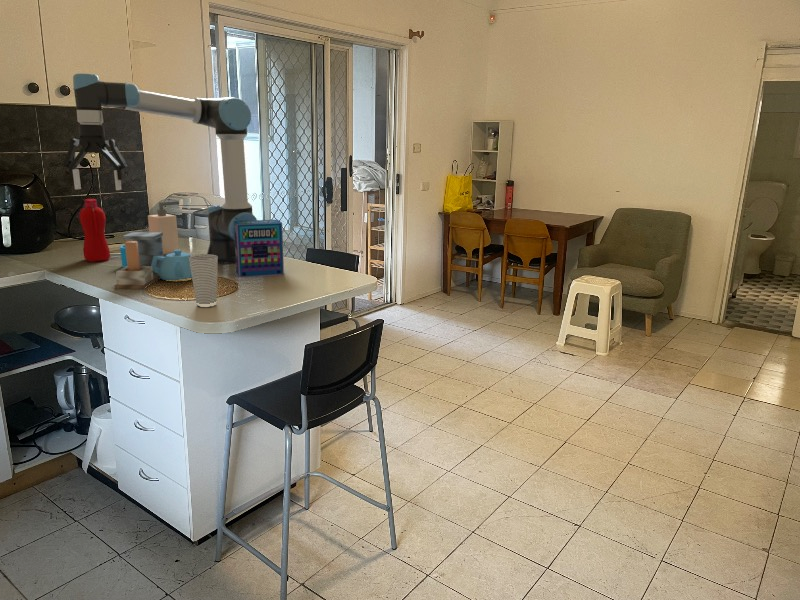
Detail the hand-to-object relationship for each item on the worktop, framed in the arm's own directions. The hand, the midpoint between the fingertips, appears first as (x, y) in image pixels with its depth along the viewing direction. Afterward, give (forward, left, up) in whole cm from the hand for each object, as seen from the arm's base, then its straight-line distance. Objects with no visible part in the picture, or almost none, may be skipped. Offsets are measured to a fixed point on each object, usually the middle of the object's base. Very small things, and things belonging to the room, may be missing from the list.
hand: (98, 189), depth 201 cm
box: (-49, -18, -33) cm, 62 cm away
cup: (-41, +25, -33) cm, 59 cm away
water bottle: (+21, -38, -33) cm, 54 cm away
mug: (+1, -29, -33) cm, 44 cm away
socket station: (-10, -3, -33) cm, 34 cm away
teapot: (-22, -9, -33) cm, 41 cm away
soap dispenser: (-1, -58, -33) cm, 67 cm away
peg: (-10, +1, -31) cm, 33 cm away
